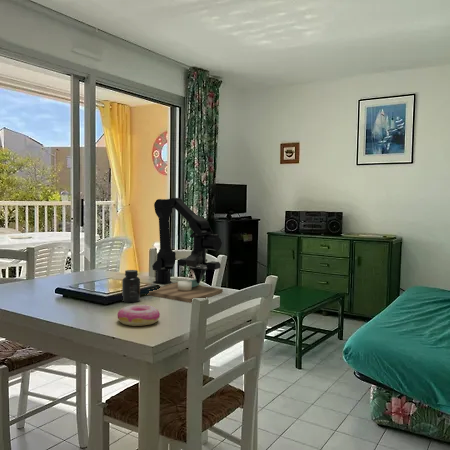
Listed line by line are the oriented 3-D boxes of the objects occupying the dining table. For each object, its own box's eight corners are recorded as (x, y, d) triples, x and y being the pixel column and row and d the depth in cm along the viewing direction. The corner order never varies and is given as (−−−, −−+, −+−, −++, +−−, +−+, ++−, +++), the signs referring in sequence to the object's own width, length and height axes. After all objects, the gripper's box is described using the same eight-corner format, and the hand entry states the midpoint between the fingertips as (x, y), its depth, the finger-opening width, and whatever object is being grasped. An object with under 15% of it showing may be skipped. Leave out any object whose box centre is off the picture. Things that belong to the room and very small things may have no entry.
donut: (167, 323, 150) (168, 308, 150) (135, 331, 140) (135, 315, 140) (142, 314, 159) (142, 300, 159) (110, 321, 149) (110, 307, 149)
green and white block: (186, 291, 190) (186, 283, 190) (174, 289, 193) (175, 282, 193) (203, 286, 201) (203, 279, 201) (191, 284, 204) (192, 277, 204)
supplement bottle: (141, 299, 181) (142, 269, 180) (136, 303, 174) (137, 272, 173) (125, 298, 181) (125, 268, 181) (119, 302, 175) (120, 271, 174)
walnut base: (144, 294, 190) (144, 290, 189) (177, 285, 210) (178, 281, 210) (192, 303, 178) (192, 298, 178) (222, 292, 199) (222, 288, 199)
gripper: (171, 247, 196) (170, 283, 197) (209, 251, 188) (208, 288, 189) (185, 245, 206) (184, 279, 207) (221, 249, 198) (220, 284, 199)
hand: (198, 283), depth 200 cm, fingers closed
